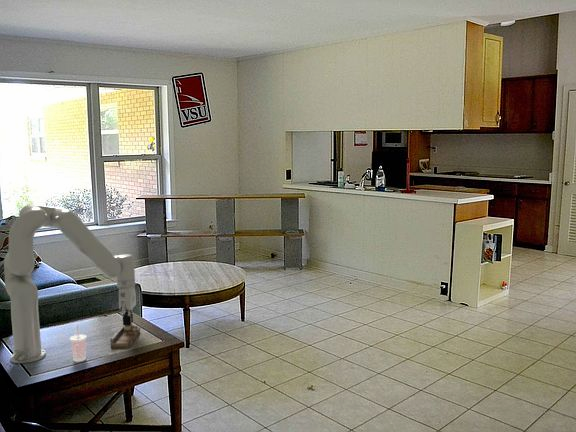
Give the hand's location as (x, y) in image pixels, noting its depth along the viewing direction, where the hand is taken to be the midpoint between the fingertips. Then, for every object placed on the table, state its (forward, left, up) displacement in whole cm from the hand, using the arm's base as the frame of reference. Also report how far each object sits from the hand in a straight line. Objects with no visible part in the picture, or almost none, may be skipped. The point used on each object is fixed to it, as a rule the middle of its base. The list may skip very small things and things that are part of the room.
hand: (128, 323), depth 232 cm
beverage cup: (-26, +11, -5) cm, 29 cm away
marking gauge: (0, -1, -3) cm, 3 cm away
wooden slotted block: (-6, -1, -5) cm, 8 cm away
